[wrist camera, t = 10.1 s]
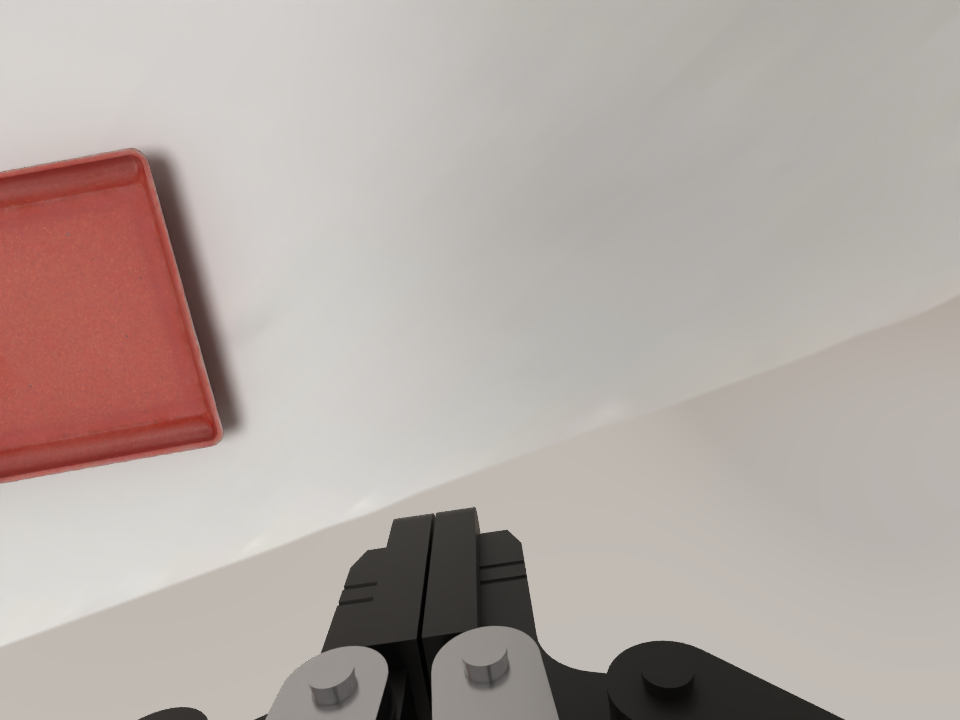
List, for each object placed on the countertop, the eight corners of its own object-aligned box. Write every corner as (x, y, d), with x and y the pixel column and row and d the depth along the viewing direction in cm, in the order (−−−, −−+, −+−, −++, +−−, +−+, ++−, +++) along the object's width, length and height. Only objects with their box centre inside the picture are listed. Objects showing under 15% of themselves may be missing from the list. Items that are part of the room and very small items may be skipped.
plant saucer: (169, 151, 37) (140, 143, 34) (244, 428, 41) (225, 445, 38) (-117, 204, 38) (-172, 202, 35) (-16, 474, 42) (-57, 494, 38)
